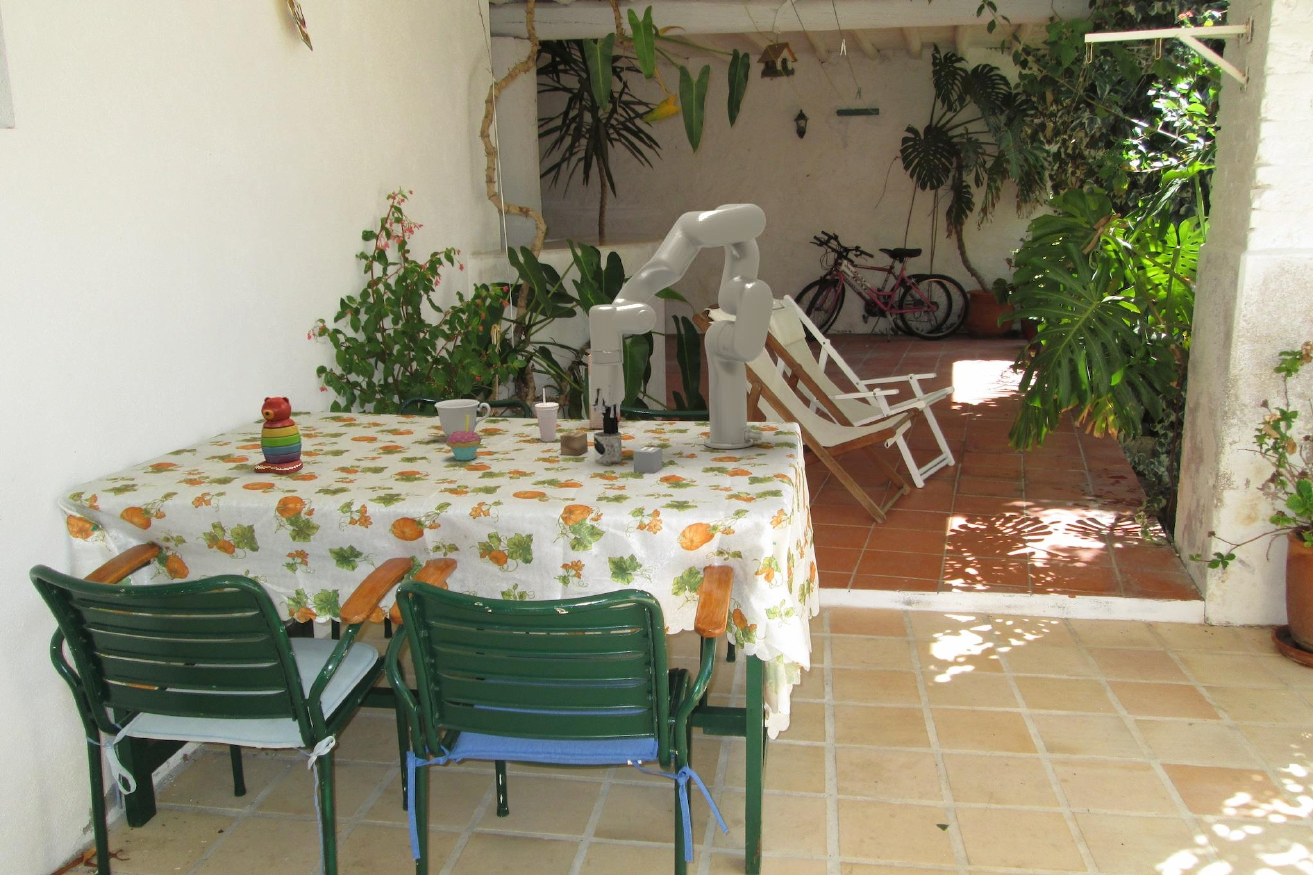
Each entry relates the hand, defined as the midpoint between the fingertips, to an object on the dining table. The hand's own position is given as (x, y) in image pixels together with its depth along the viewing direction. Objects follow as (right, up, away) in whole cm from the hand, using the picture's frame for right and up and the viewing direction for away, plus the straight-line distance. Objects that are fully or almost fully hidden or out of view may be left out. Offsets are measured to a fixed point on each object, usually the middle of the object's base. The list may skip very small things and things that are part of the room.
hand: (611, 433), depth 253 cm
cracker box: (-3, +2, +46) cm, 47 cm away
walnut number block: (-10, -5, +12) cm, 16 cm away
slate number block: (+9, -9, -8) cm, 15 cm away
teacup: (-41, -2, +32) cm, 52 cm away
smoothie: (-18, -2, +28) cm, 33 cm away
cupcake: (-37, -7, +9) cm, 39 cm away
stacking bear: (-80, -9, +4) cm, 81 cm away
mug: (0, -7, +1) cm, 7 cm away
